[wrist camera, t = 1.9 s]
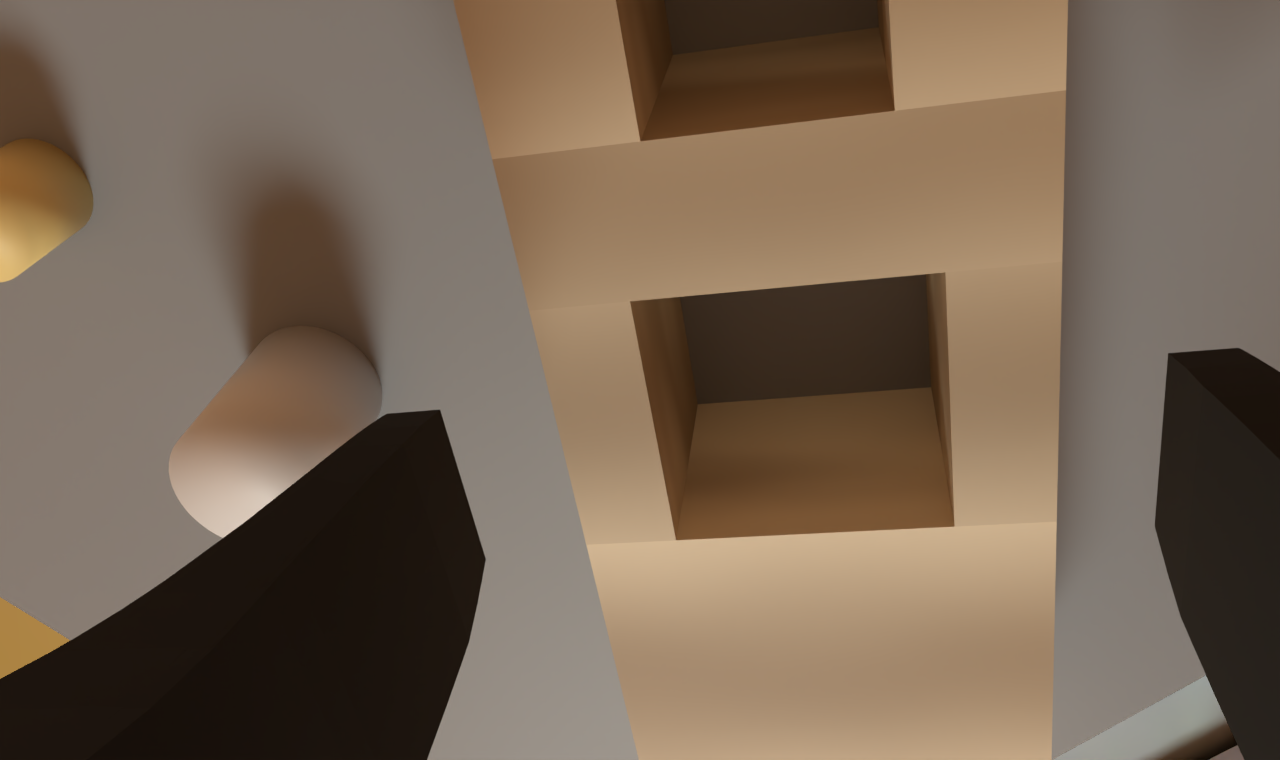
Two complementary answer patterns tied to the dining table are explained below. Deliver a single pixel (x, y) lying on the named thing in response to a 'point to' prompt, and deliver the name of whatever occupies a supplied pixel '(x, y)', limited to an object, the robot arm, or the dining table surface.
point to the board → (501, 324)
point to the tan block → (812, 425)
